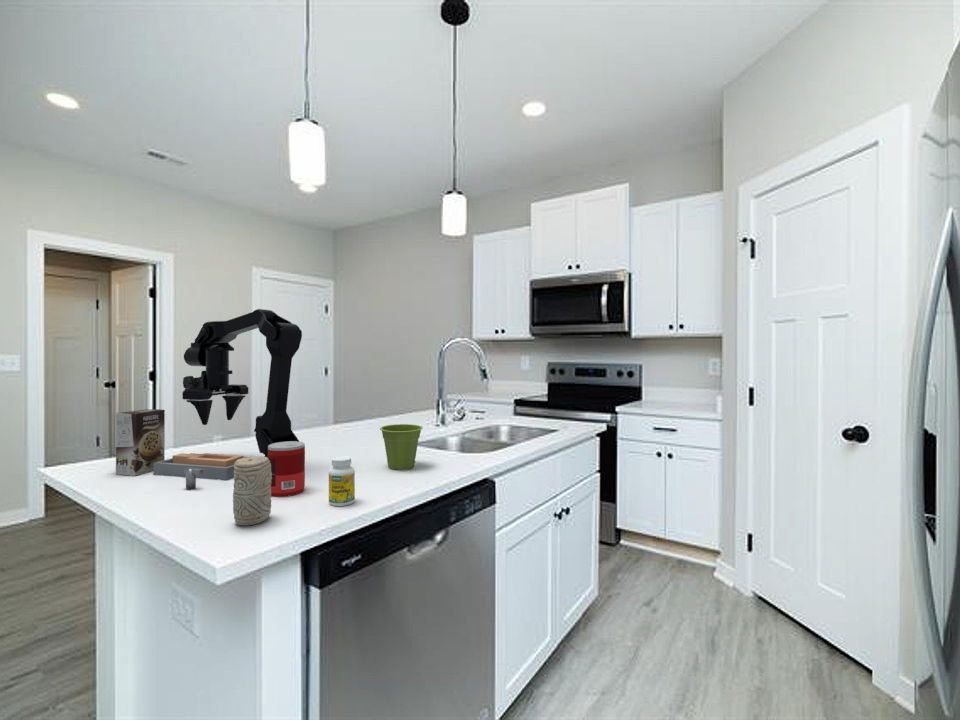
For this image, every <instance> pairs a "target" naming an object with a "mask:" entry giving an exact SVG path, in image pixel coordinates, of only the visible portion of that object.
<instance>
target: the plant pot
mask: <svg viewBox="0 0 960 720" xmlns="http://www.w3.org/2000/svg"><path fill="white" fill-rule="evenodd" d="M423 429H424V427H423V426H421V425H419V424H410V423H409V424H408V423H399V424H397V423H396V424H395V423H394V424H386V425H383V426H380V428H379V430H380V431H381V432H382V433H381V434H382V439H383V441H384V448H385V449H384V450H385V455H386V460H387V467H388V469H390V470H400V471H405V470H411V469H412V468H413V467H414V466H415V463H416V457H417V451H418V445H419V439H420V437H421V436H420V435H421V431H422V430H423Z"/></svg>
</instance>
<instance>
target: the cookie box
mask: <svg viewBox="0 0 960 720" xmlns="http://www.w3.org/2000/svg"><path fill="white" fill-rule="evenodd" d="M165 412H166V410H165V409H154V408H153V409H146V408H145V409H140V410H131V411H123V412H122V411H121V412H115V416H116V417H115V418H116V419H115V420H116V423H115V475H118V476H119V475H120V476H121V475H122V476H128V477H130V476H131V477H136V476H140V475H142V474H147V473H152V472H153V463H155V462H159V461H163V460H166V459H165V452H166V451H165V443H166V442H165V441H166V440H165V437H166V436H165V430H166V429H165V428H166V427H165V424H166V423H165V419H166V417H165V416H166V413H165Z"/></svg>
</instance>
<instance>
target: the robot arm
mask: <svg viewBox="0 0 960 720" xmlns="http://www.w3.org/2000/svg"><path fill="white" fill-rule="evenodd" d="M256 329H258V331H259V333H261V334H262V335H263V336H264V337H265V345H266V348H267V351H268V352H269V354H270V357H271V358H270V367H269V376H268V386H267V394H266V395H267V396H266V405H265V411H264V412H263V414H261V415H257V416H256V418H255V428H254V430H253V432H254V433H255V440H256V444H257V448H258V451H259V454H263V455H264V456H263V457H267V458H268V446H269V445H270V444H273V443H278V442H287V441H298V442H300V440H299V439H298V437H297V435H296V434H295V433H294V432H293V429H292V420H291V418H290V417H289V416H290V415H288V412H287V406H288V398H289V390H290V382H291V381H290V379H291V371H292V369H291V368H292V361H293V360H292V359H293V358H294V356H295V355H296V353H297V351H298V350H299V349H300V345H301V341H302V337H303V333H302V329H301V328H300V326H299V325H297V324H295V323H292V322H291V321H289V320H288V319H285V318H284V317H281V316H280V315H279V314H277V313H276V312H275V311H273V310H271V309H262V308H257V309H255V310H254V311H251V312H248V313H245V314H243V315H239V316H236V317H233V318H231V319H228V320H218V321H217V320H215V321H205V322H204V323H203V324H202V327H201V328H200V330H199V332H198V334H197V336H196V338H194V342H191V343H190V346H189V347H188V348H187V349H186V350H185V352H184V354H183V359H184V361H185V364H187V365H188V366H191V367H205V370H201V374H200V376H198V377H194V376H193V375H188V376H184V377H183V378H182V386H183V388H184V390H183V391H182V400H186V402H187V403H190V404H191V405H192V406H193V407H194V408H195V410H196V412H197V415H198V417H199V419H200V422H201V424H202V426H207V425H208V423H209V419H210V414H211V411H212V406H213V405H212V404H213V399H211V398H212V396H213V397H214V396H220V395H221V397H222V399H223V400H224V401H225V412H226V413H225V414H226V418H227V419H226V420H227V421H232V419H233V417H234V415H235V414H236V411H237V410H238V408H239V407H240V404H241V402H242V401H243V399H244V398H246V395H248V394H249V387H248V386H247V384H239V383H238V384H236V383H235V384H233V383H232V384H230V375H233V370H232V369H231V370H230V352H234V351H235V348H234V347H233V346H232V345H231V344H230V342H232V341H233V340H234V341H235V340H236V338H237V337H238V336H239V335H241V334H243V333H246V332H250V331H252V330H256Z"/></svg>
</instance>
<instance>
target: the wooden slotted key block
mask: <svg viewBox="0 0 960 720" xmlns="http://www.w3.org/2000/svg"><path fill="white" fill-rule="evenodd" d="M199 454H201V455H199ZM244 457H245V456H244V455H241V454H239V455H238V454H237V455H235V454H224V453H223V454H222V453H206V452H205V453H195V454H190V453H185V452H183V453H182V452H181V453H178V454H174V455H172V458H173V463H176V464H190V465H205V466H219V467H228V466H231V465H234V463H235V462H236V461H237V460H238V459H242V458H244Z"/></svg>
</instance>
